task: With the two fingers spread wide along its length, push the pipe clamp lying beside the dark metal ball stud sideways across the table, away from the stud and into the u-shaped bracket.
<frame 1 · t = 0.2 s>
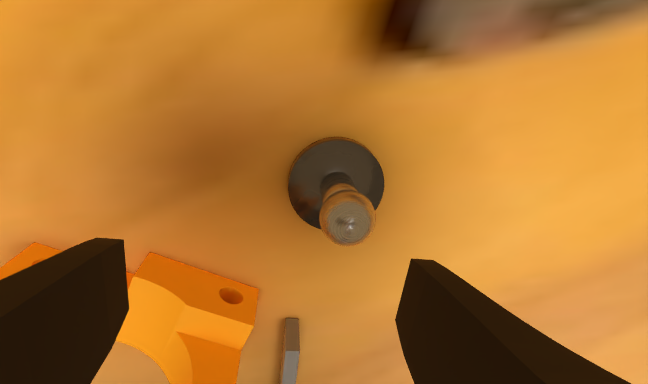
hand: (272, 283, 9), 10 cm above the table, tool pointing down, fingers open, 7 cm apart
ball stud: (334, 182, 19), on the table
pipe clamp: (148, 280, 21), on the table
u-shaped bracket: (152, 358, 22), on the table
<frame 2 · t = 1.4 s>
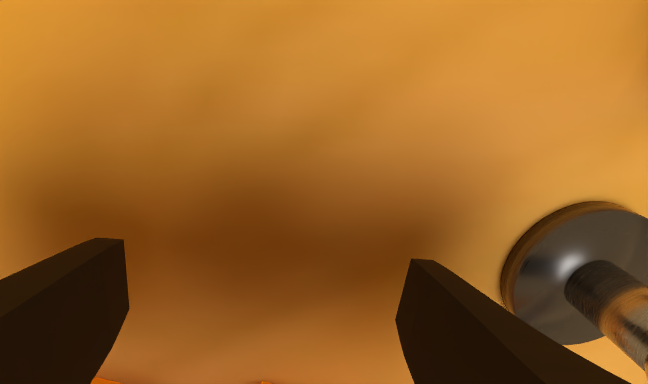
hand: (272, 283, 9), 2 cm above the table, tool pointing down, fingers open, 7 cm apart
ball stud: (572, 269, 12), on the table
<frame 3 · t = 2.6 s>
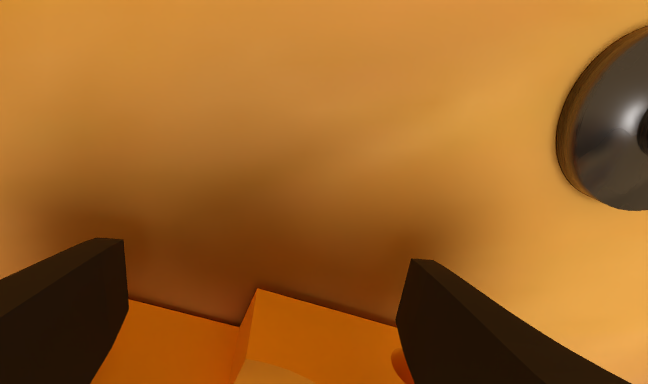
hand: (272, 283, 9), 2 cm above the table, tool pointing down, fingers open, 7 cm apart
ball stud: (641, 119, 10), on the table
pipe clamp: (250, 334, 12), on the table
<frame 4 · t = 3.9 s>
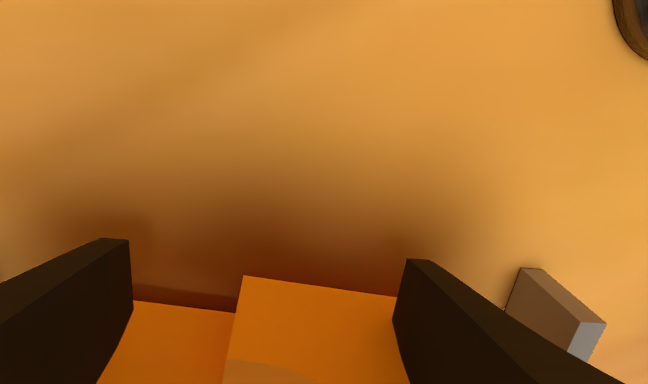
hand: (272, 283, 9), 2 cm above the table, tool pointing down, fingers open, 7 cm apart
pipe clamp: (251, 317, 11), on the table, touching gripper
u-shaped bracket: (270, 340, 12), on the table
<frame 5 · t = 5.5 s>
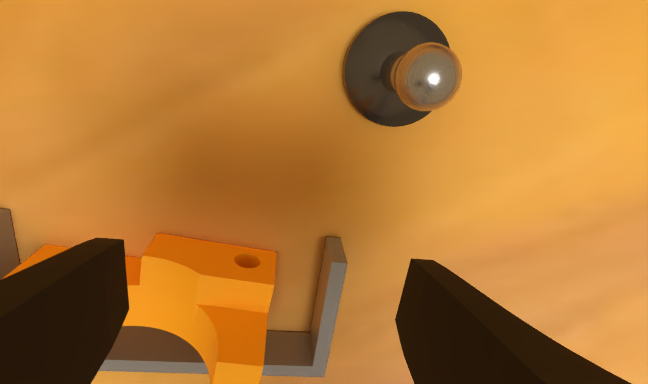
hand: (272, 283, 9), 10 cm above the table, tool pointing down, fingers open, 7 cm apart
ball stud: (394, 71, 17), on the table
pipe clamp: (165, 264, 20), on the table
u-shaped bracket: (177, 278, 20), on the table
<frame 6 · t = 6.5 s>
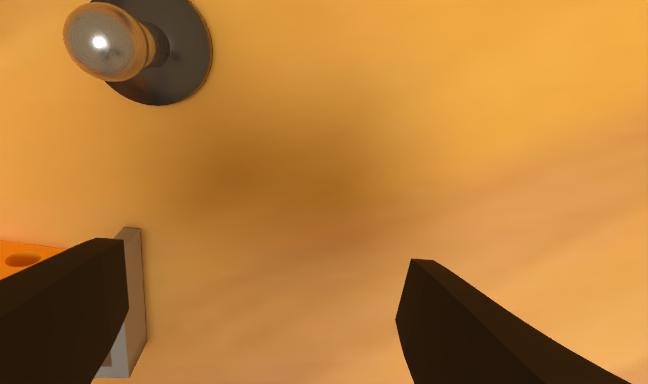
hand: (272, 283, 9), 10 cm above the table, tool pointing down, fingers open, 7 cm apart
ball stud: (154, 45, 16), on the table
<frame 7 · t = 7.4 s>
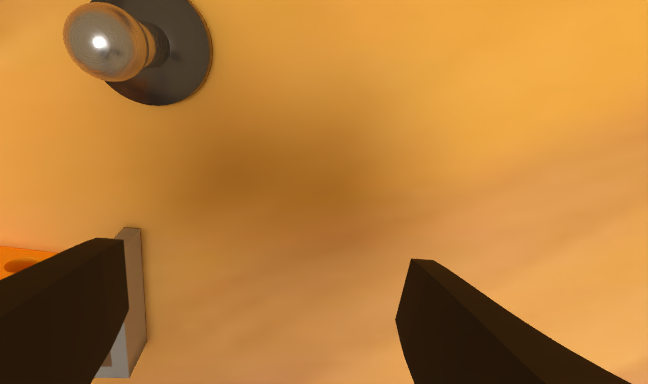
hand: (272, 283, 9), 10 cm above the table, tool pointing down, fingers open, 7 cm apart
ball stud: (154, 45, 16), on the table
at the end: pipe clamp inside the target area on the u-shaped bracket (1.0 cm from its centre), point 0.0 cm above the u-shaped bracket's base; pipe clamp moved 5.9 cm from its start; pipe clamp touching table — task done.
